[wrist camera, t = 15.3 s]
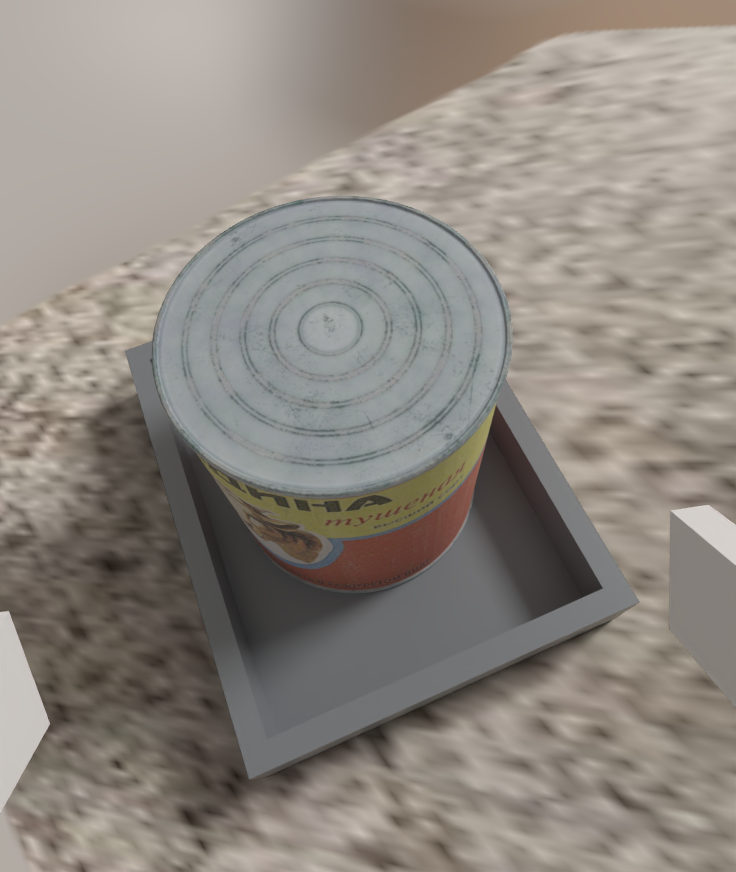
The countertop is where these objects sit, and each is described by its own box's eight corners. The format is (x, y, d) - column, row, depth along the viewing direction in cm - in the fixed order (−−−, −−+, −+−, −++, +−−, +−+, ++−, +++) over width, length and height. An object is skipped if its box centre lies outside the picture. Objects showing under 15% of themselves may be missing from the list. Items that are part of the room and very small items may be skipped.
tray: (422, 287, 37) (424, 244, 34) (613, 619, 28) (639, 601, 25) (150, 387, 35) (125, 350, 32) (267, 776, 26) (249, 779, 23)
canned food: (190, 505, 31) (75, 371, 20) (331, 339, 35) (298, 152, 24) (386, 645, 28) (375, 575, 17) (518, 445, 31) (578, 283, 21)
